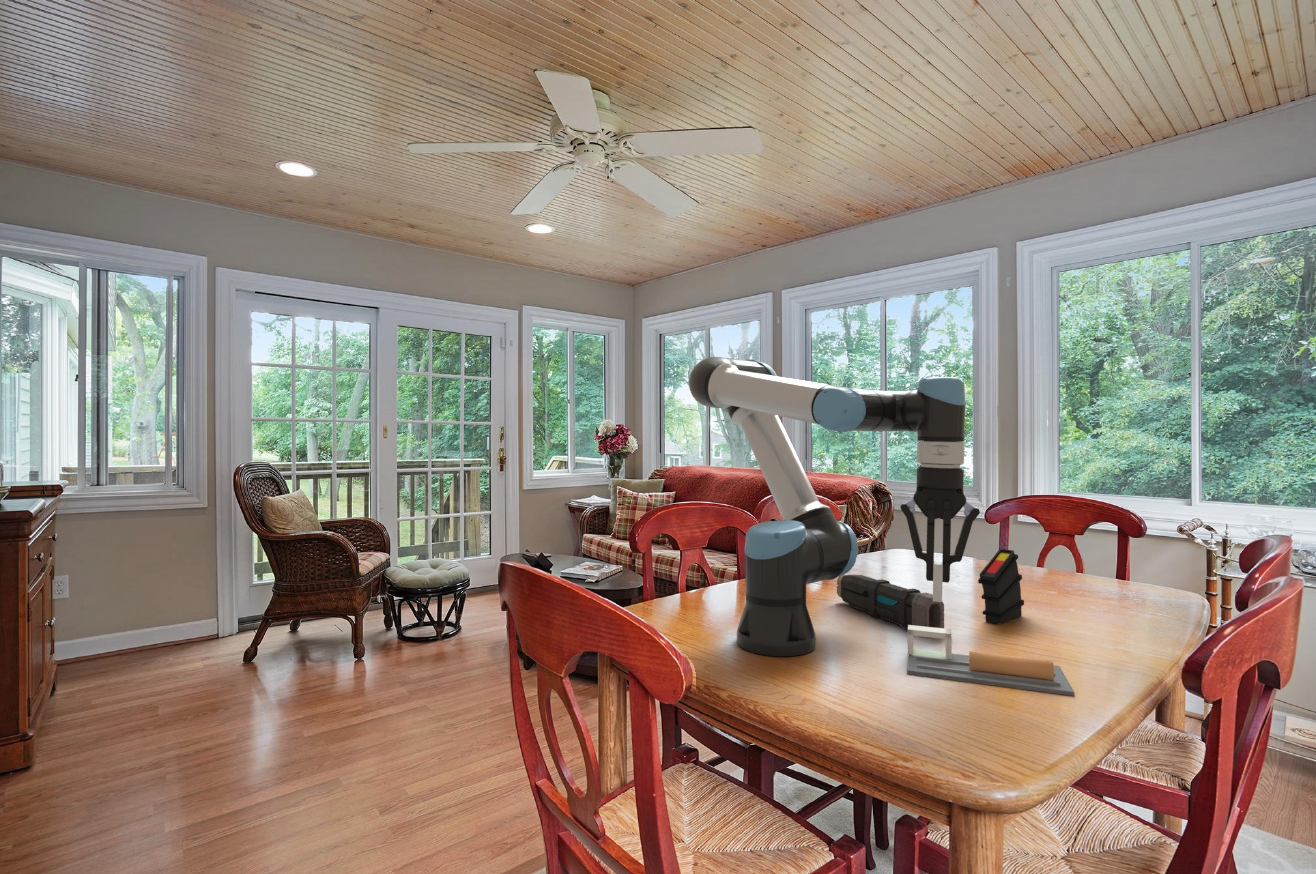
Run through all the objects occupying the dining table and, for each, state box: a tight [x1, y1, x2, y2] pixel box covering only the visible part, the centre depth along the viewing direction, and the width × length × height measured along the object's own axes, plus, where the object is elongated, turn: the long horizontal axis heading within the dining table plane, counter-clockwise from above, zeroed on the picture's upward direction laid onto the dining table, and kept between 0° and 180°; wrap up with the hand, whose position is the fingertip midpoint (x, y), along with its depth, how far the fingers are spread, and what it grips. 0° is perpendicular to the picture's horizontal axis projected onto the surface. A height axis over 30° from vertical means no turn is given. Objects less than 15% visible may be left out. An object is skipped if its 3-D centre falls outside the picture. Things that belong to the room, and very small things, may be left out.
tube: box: [836, 574, 945, 630], centre depth 140 cm, size 11×7×30 cm
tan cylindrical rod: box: [968, 650, 1055, 681], centre depth 104 cm, size 12×3×3 cm, turn 66°
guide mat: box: [906, 648, 1075, 697], centre depth 107 cm, size 24×12×1 cm, turn 67°
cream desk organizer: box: [907, 625, 953, 659], centre depth 114 cm, size 3×7×4 cm, turn 67°
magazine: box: [977, 548, 1025, 625], centre depth 138 cm, size 4×13×15 cm, turn 127°
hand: (937, 599), depth 111 cm, fingers closed
